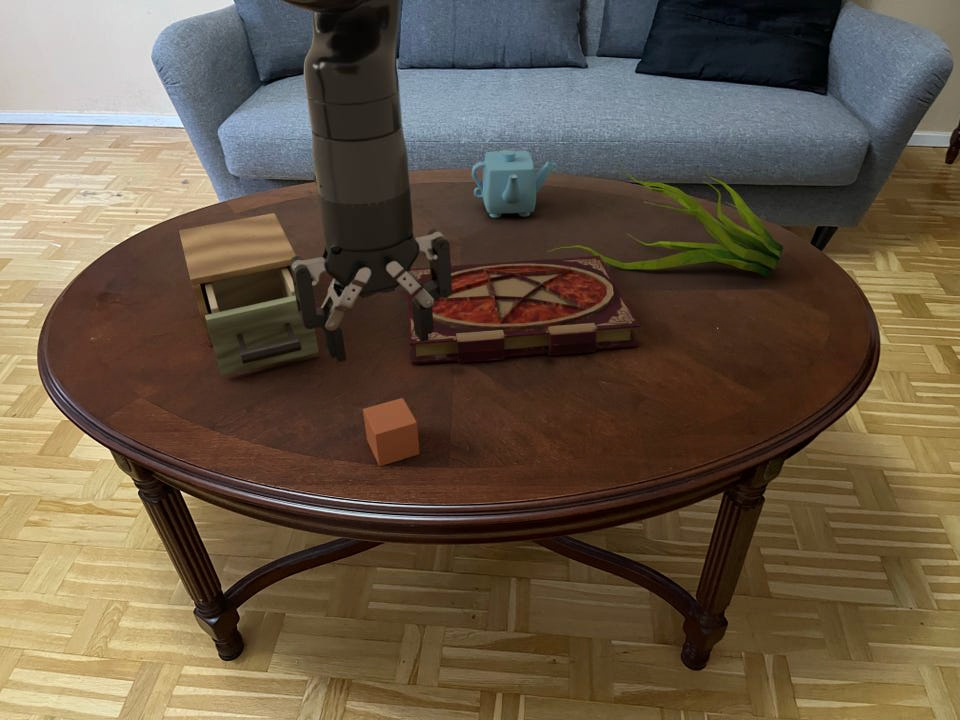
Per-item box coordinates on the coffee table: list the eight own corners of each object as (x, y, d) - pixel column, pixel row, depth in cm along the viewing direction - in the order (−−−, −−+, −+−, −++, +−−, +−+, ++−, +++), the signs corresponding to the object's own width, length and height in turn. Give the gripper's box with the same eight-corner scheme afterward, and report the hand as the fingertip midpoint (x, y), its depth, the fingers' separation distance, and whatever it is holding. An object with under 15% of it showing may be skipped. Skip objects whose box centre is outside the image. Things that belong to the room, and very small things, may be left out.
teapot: (469, 189, 131) (468, 135, 125) (545, 187, 132) (548, 132, 126) (475, 233, 116) (474, 173, 111) (560, 229, 117) (564, 170, 111)
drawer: (329, 376, 84) (319, 319, 79) (228, 402, 80) (212, 344, 76) (295, 300, 98) (285, 248, 93) (207, 319, 94) (192, 266, 90)
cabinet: (309, 323, 95) (297, 257, 89) (209, 346, 91) (190, 279, 85) (286, 274, 106) (274, 212, 100) (196, 292, 102) (178, 229, 96)
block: (379, 466, 73) (375, 434, 70) (367, 440, 76) (362, 408, 74) (419, 454, 74) (417, 422, 72) (406, 428, 78) (403, 397, 75)
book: (597, 273, 106) (599, 242, 103) (639, 351, 89) (644, 317, 86) (405, 287, 104) (403, 255, 101) (411, 370, 86) (408, 335, 84)
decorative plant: (604, 221, 120) (613, 134, 111) (783, 271, 105) (809, 175, 96) (546, 263, 108) (550, 168, 99) (738, 325, 93) (762, 221, 85)
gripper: (284, 215, 53) (316, 388, 63) (462, 183, 58) (466, 349, 67) (266, 180, 59) (298, 344, 68) (429, 153, 63) (437, 310, 73)
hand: (381, 346), depth 68 cm, fingers open, 7 cm apart
